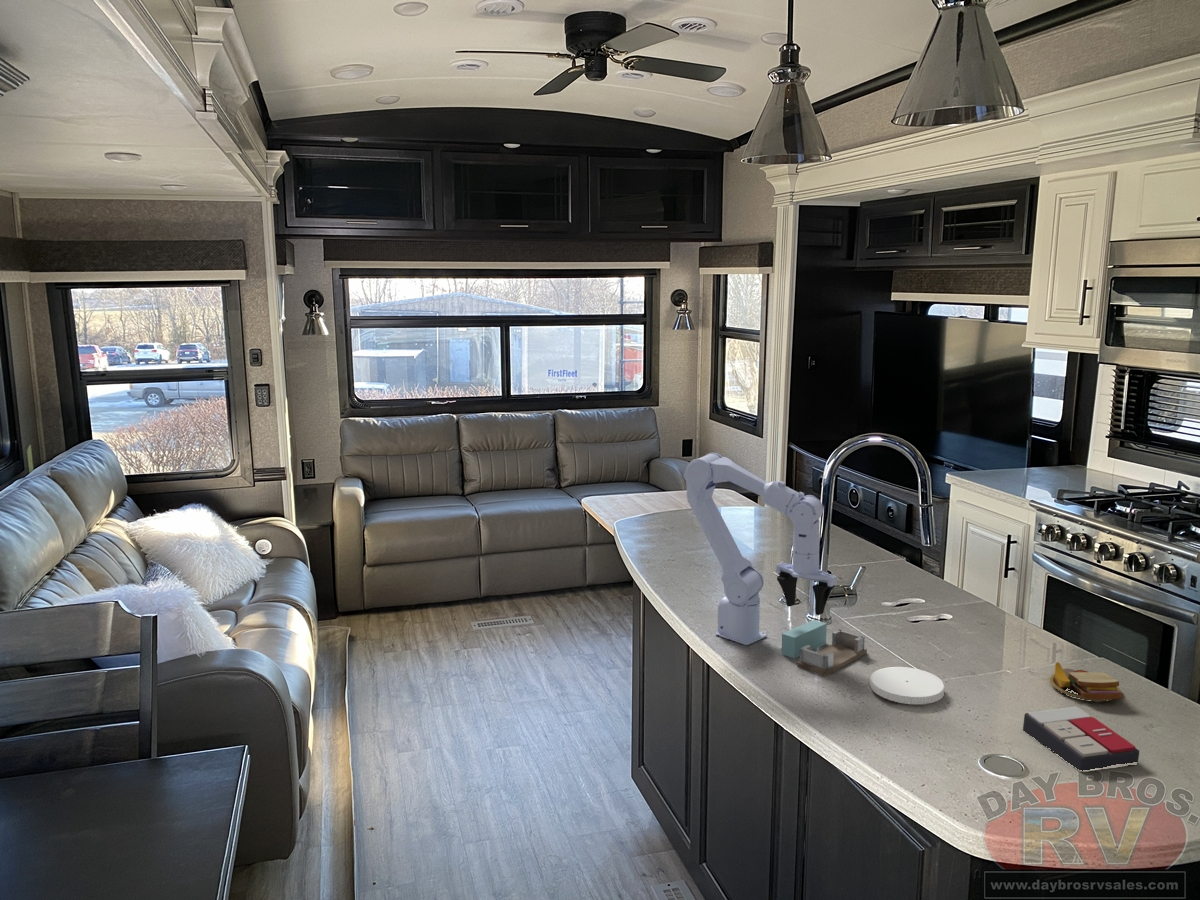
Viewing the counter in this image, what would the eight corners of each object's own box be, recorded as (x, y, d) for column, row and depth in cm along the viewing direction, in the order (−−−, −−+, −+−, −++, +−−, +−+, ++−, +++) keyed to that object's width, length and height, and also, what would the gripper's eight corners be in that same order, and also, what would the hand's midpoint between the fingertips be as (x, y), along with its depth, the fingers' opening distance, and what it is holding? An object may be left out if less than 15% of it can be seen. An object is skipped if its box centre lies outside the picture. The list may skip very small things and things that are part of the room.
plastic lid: (876, 707, 171) (876, 695, 171) (865, 676, 185) (865, 665, 185) (951, 710, 170) (952, 698, 169) (934, 679, 183) (935, 667, 183)
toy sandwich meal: (1109, 679, 181) (1111, 658, 180) (1130, 710, 168) (1132, 686, 167) (1042, 674, 184) (1044, 653, 183) (1058, 703, 171) (1060, 681, 170)
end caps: (800, 661, 190) (800, 648, 190) (838, 641, 200) (839, 629, 200) (825, 670, 185) (826, 657, 185) (864, 649, 196) (864, 636, 195)
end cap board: (797, 666, 190) (797, 662, 190) (839, 644, 201) (839, 640, 201) (825, 676, 185) (825, 671, 185) (866, 653, 196) (866, 649, 196)
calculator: (1083, 755, 146) (1023, 709, 160) (1080, 778, 147) (1021, 730, 161) (1141, 747, 148) (1077, 702, 162) (1138, 770, 149) (1074, 723, 163)
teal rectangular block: (781, 654, 197) (781, 633, 196) (813, 640, 205) (814, 619, 204) (794, 659, 194) (794, 637, 193) (826, 644, 202) (826, 623, 201)
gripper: (768, 548, 198) (767, 606, 200) (824, 561, 187) (822, 622, 190) (786, 542, 203) (786, 598, 205) (842, 554, 192) (840, 613, 195)
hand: (804, 609), depth 198 cm, fingers open, 7 cm apart
